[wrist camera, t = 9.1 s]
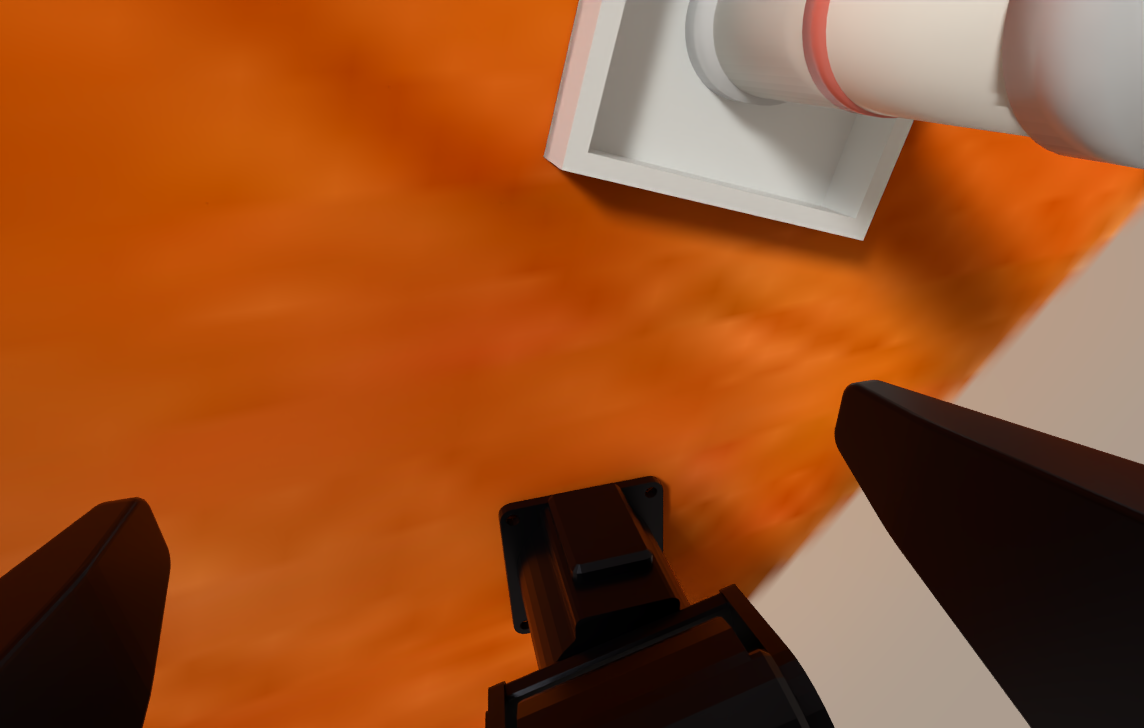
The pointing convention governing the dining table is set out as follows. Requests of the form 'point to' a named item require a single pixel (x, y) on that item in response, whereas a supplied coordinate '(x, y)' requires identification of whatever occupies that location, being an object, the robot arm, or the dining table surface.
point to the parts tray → (709, 128)
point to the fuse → (940, 64)
